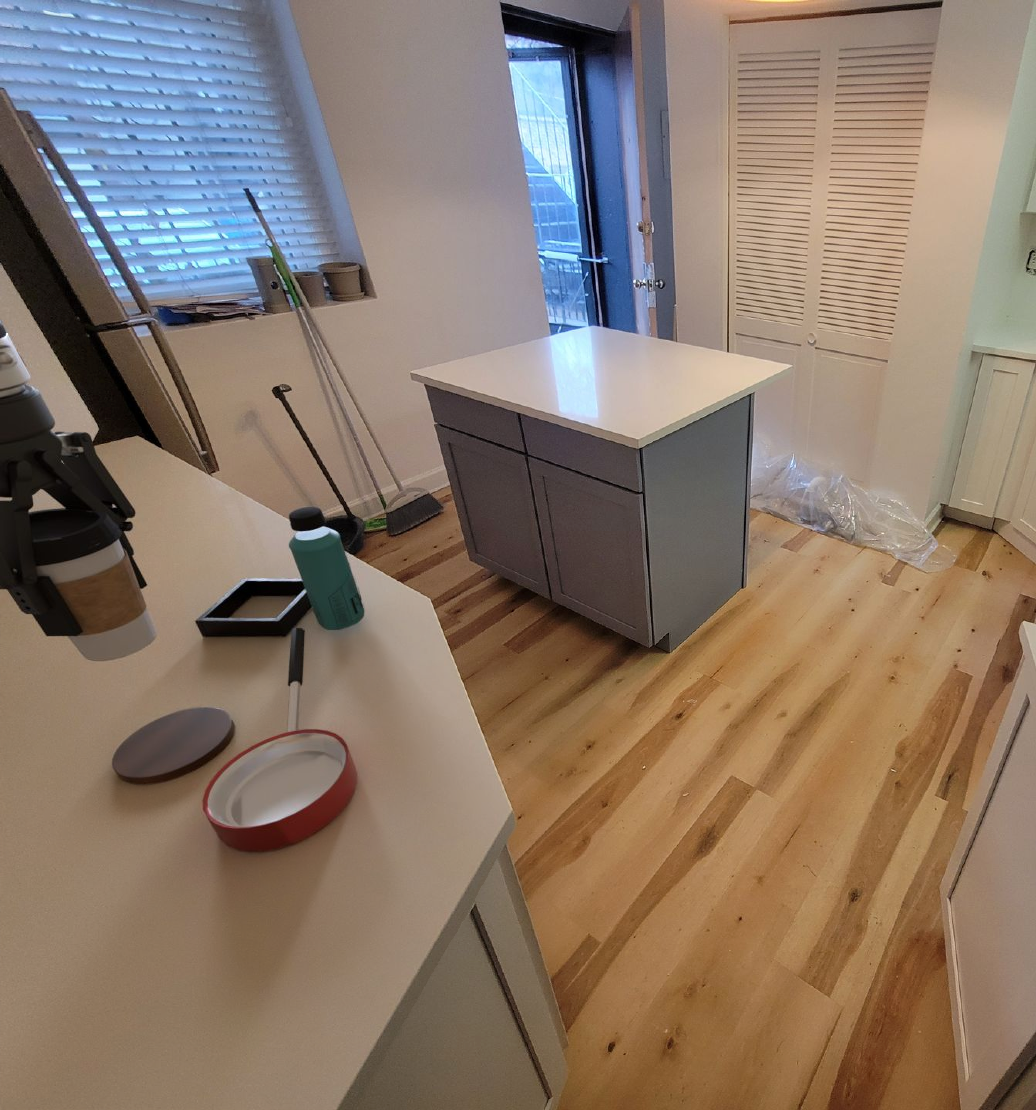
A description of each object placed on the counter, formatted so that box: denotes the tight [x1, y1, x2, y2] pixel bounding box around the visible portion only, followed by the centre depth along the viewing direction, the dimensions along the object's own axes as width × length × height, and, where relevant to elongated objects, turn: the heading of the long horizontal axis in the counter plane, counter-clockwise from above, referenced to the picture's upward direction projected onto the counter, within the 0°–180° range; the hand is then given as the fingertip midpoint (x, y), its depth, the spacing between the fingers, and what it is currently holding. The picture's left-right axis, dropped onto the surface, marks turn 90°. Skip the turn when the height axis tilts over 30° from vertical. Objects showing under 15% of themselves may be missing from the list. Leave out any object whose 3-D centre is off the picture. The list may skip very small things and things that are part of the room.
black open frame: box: [194, 577, 313, 638], centre depth 95 cm, size 12×12×3 cm
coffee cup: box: [29, 507, 158, 662], centre depth 62 cm, size 8×8×15 cm
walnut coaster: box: [111, 706, 236, 785], centre depth 73 cm, size 11×11×1 cm
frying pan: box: [201, 627, 358, 853], centre depth 73 cm, size 32×13×6 cm, turn 33°
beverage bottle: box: [288, 506, 366, 631], centre depth 89 cm, size 6×7×20 cm
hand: (100, 608), depth 63 cm, fingers closed on coffee cup, 8 cm apart
